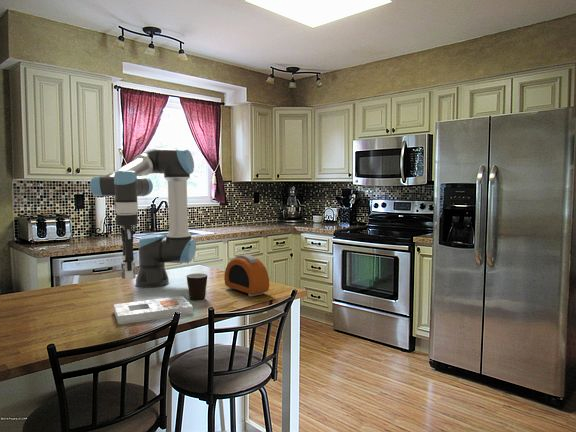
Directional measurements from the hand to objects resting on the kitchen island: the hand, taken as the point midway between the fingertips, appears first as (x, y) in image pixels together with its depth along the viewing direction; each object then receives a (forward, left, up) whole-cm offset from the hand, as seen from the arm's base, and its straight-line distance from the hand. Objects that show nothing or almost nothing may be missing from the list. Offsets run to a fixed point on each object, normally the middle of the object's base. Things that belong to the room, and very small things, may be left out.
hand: (128, 277), depth 154 cm
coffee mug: (-13, +29, -15) cm, 35 cm away
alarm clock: (-14, +51, -15) cm, 55 cm away
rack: (0, +8, -14) cm, 17 cm away
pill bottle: (0, 0, -1) cm, 1 cm away
